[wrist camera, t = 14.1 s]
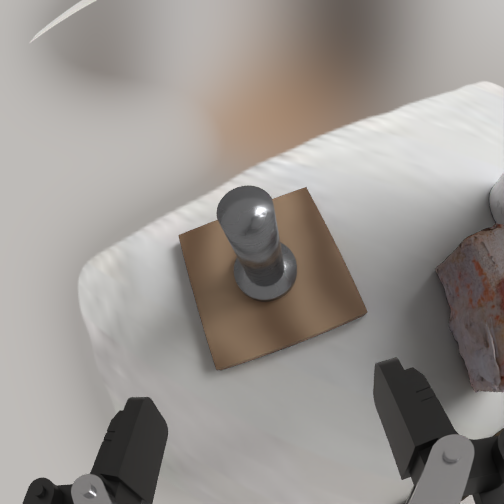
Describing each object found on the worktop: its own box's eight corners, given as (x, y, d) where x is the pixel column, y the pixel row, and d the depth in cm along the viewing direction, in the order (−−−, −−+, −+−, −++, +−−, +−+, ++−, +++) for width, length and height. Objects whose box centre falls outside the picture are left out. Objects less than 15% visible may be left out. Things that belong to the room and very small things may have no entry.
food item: (514, 362, 21) (574, 348, 12) (460, 398, 21) (520, 398, 12) (474, 249, 27) (520, 202, 18) (419, 272, 27) (461, 225, 18)
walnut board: (306, 195, 32) (306, 187, 31) (364, 315, 26) (367, 311, 25) (183, 241, 32) (178, 235, 31) (220, 370, 26) (216, 369, 25)
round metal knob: (283, 235, 29) (272, 160, 19) (306, 288, 27) (308, 231, 17) (228, 256, 29) (190, 191, 19) (247, 310, 27) (212, 268, 17)
